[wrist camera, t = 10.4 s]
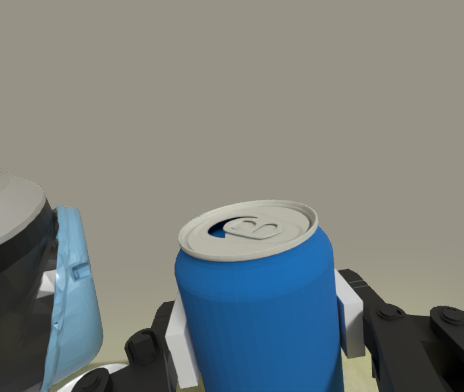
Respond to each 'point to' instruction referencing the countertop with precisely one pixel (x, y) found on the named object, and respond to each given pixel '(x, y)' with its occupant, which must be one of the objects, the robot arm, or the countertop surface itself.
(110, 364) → the white cup
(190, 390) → the countertop surface
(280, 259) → the beverage can
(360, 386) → the countertop surface
